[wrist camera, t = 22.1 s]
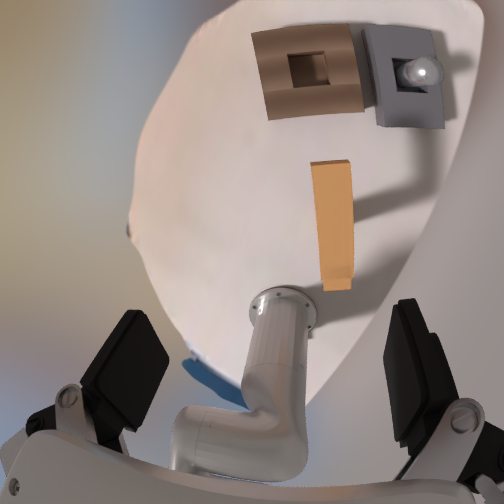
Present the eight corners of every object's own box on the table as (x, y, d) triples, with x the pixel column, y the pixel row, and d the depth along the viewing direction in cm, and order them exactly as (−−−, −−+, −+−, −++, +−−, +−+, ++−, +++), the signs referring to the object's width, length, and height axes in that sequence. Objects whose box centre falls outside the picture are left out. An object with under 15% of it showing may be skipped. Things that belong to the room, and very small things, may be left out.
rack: (432, 125, 31) (444, 128, 27) (376, 124, 33) (385, 127, 29) (419, 35, 24) (430, 30, 21) (361, 31, 26) (367, 24, 23)
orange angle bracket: (339, 229, 41) (353, 289, 29) (316, 231, 42) (321, 291, 29) (331, 141, 35) (350, 162, 22) (306, 143, 36) (310, 165, 23)
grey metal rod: (414, 88, 28) (446, 85, 19) (393, 87, 29) (420, 83, 20) (410, 66, 26) (441, 57, 18) (389, 65, 27) (415, 54, 19)
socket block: (358, 111, 32) (364, 112, 29) (271, 119, 35) (268, 120, 32) (343, 31, 27) (348, 23, 23) (255, 39, 29) (250, 33, 26)
